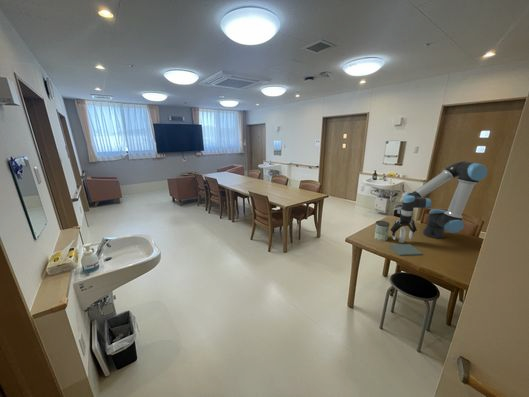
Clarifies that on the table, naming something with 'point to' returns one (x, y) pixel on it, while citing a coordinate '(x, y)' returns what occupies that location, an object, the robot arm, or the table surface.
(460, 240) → the table surface
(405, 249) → the slate board
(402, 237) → the chalk stick
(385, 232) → the coffee can
